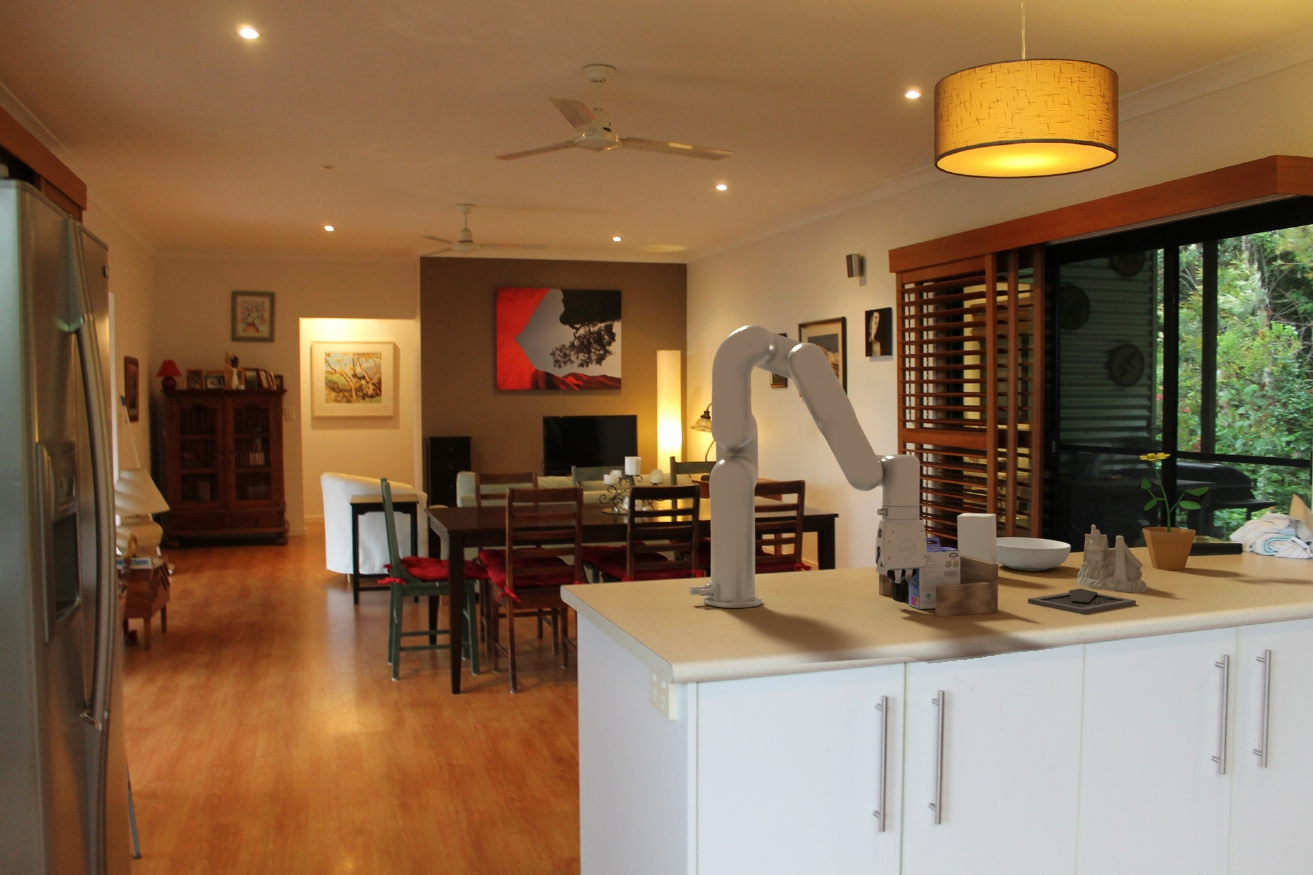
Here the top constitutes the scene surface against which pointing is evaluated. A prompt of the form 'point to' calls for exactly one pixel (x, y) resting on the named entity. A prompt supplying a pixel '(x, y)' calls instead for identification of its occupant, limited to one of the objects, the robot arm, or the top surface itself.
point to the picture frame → (1081, 601)
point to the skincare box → (977, 536)
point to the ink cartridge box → (934, 574)
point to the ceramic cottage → (1109, 565)
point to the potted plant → (1169, 542)
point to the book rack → (963, 589)
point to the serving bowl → (1031, 553)
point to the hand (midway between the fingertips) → (900, 600)
